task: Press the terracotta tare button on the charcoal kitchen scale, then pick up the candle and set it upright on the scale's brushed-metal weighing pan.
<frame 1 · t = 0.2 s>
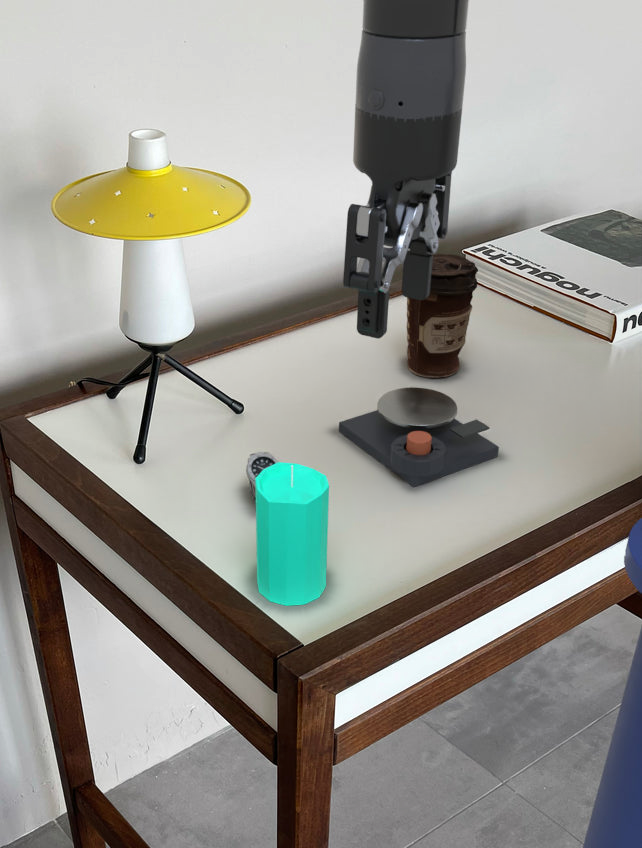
hand: (394, 315, 80), 22 cm above the table, tool pointing down, fingers open, 8 cm apart
coffee cup: (434, 369, 122), on the table
candle: (291, 585, 88), on the table
wristwatch: (262, 499, 99), on the table
tare button: (418, 443, 100), point 3 cm above the table, slide at 0.2 cm
scale pan: (414, 433, 109), resting on scale
scale: (416, 443, 107), on the table
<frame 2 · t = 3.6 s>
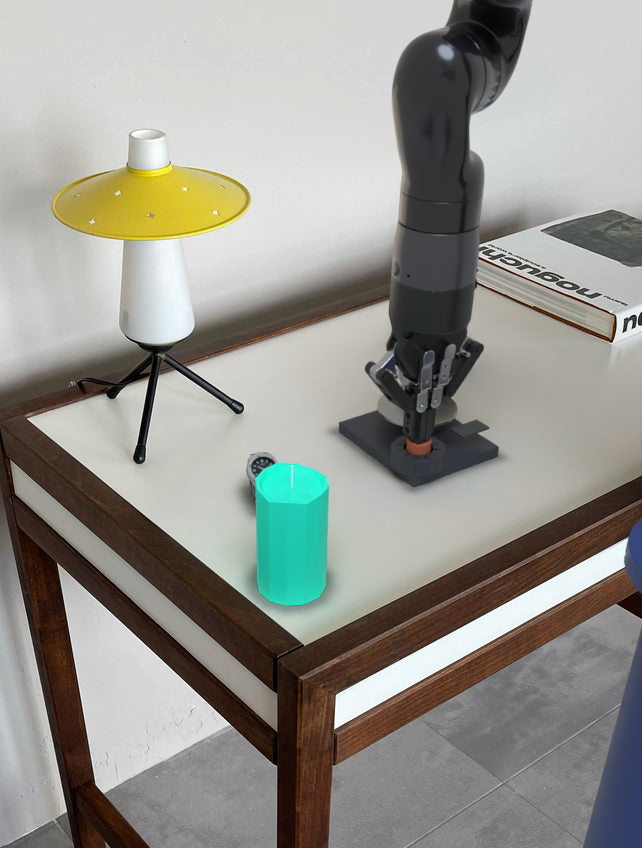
hand: (417, 438, 100), 4 cm above the table, tool pointing down, fingers closed
tare button: (418, 446, 100), point 3 cm above the table, slide at -0.2 cm, touching gripper
everything else where it was.
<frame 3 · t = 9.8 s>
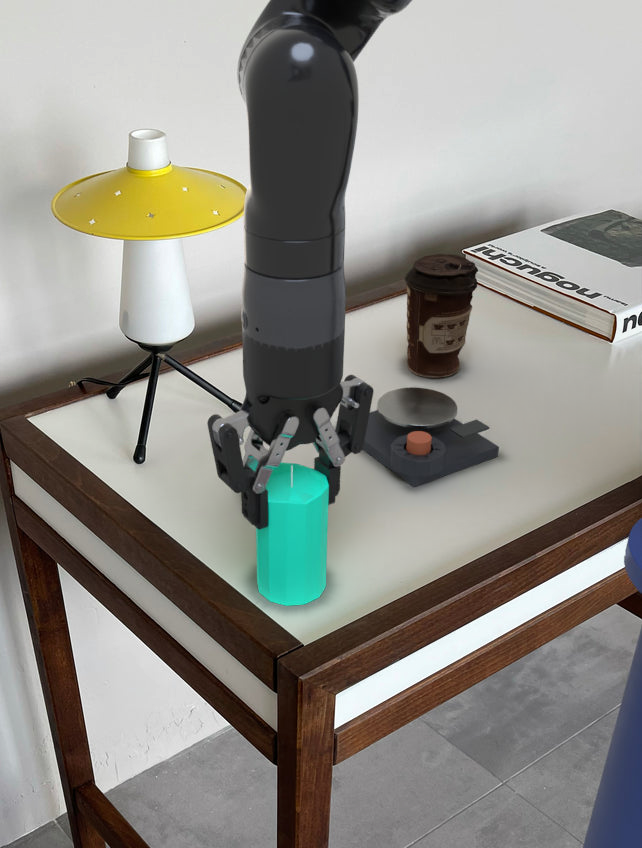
hand: (291, 511, 83), 8 cm above the table, tool pointing down, fingers closed on candle, 6 cm apart
candle: (291, 585, 88), on the table, touching gripper
tare button: (418, 443, 100), point 3 cm above the table, slide at 0.1 cm
everything else where it was.
when the fingers open (11 cm above the table, at t = 17.3 s): candle stays where it is, resting on scale pan.
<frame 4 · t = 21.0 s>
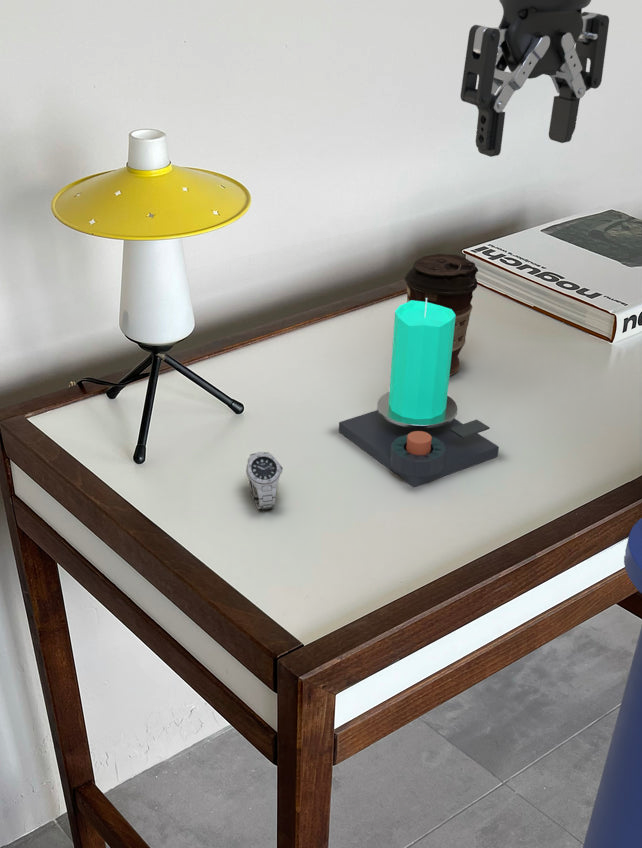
hand: (524, 147, 91), 30 cm above the table, tool pointing down, fingers open, 8 cm apart
candle: (417, 407, 107), point 3 cm above the table, touching scale pan
everything else where it was.
at the end: tare button pushed in 1.1 cm at the most during the clip, back to where it started at the end; tare button slide at 0.1 cm; candle 0.0 cm off-centre on the scale pan, point 3.2 cm above the scale pan's base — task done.
